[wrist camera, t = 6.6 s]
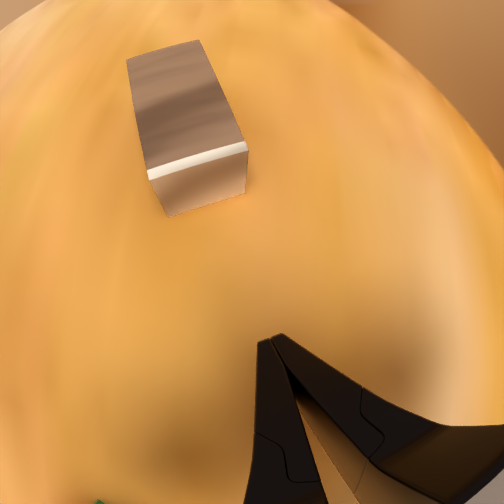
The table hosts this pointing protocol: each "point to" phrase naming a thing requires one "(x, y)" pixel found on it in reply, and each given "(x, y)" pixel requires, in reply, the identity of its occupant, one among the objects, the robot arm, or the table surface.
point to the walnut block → (186, 129)
